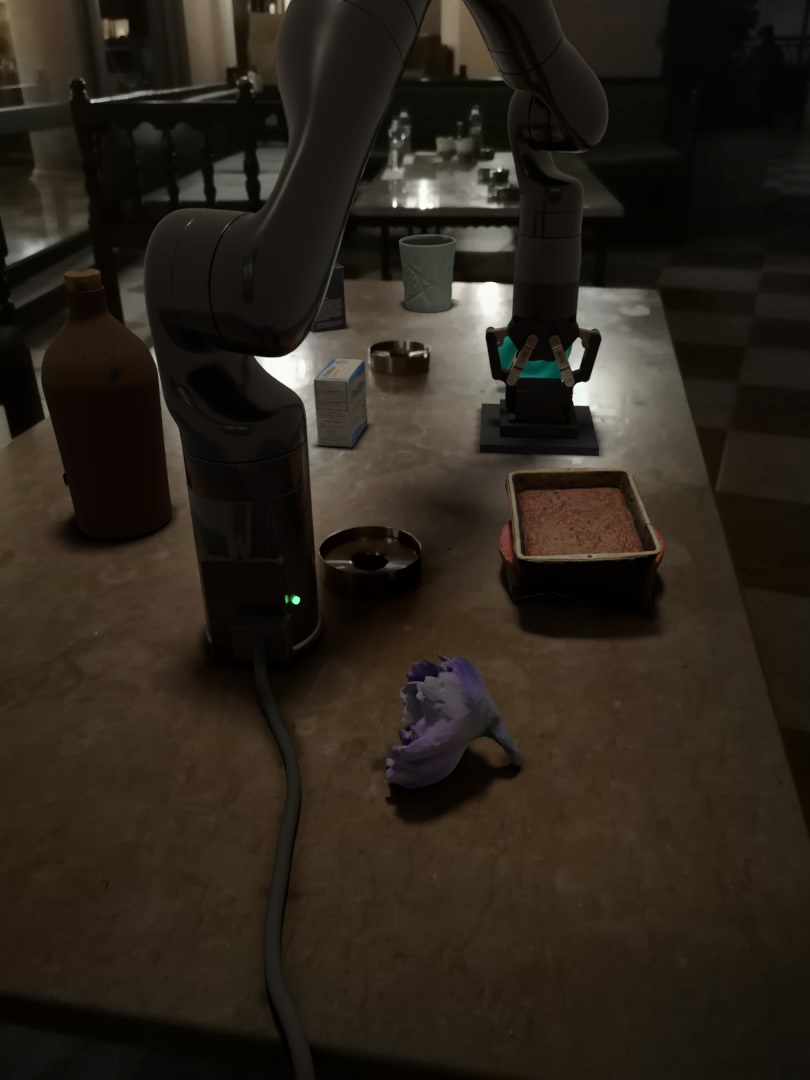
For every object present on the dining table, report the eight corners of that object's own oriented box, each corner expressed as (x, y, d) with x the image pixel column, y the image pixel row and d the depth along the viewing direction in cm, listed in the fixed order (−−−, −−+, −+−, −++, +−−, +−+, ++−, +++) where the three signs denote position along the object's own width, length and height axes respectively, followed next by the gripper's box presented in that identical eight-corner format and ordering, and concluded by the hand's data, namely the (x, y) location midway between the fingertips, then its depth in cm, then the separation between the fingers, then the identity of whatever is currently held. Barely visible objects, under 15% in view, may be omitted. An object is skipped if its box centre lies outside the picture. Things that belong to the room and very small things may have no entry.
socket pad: (598, 455, 107) (600, 435, 105) (479, 452, 108) (480, 432, 107) (588, 412, 119) (590, 394, 118) (481, 410, 120) (482, 392, 119)
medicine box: (352, 449, 109) (349, 379, 105) (317, 446, 110) (312, 377, 106) (368, 425, 116) (366, 359, 112) (334, 422, 116) (331, 357, 112)
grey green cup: (464, 304, 168) (465, 237, 163) (437, 316, 161) (437, 247, 155) (418, 297, 173) (417, 232, 167) (389, 309, 166) (388, 241, 160)
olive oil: (199, 507, 96) (166, 264, 84) (133, 552, 87) (87, 290, 75) (119, 489, 99) (77, 256, 87) (48, 531, 91) (-8, 279, 79)
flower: (545, 646, 62) (417, 612, 58) (562, 766, 56) (424, 737, 53) (473, 703, 68) (353, 676, 64) (483, 815, 63) (353, 793, 59)
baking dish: (488, 637, 78) (501, 546, 71) (499, 515, 92) (510, 430, 85) (658, 658, 77) (686, 568, 70) (642, 532, 91) (665, 447, 84)
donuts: (492, 393, 126) (494, 321, 121) (502, 370, 134) (505, 303, 129) (564, 398, 124) (570, 326, 119) (570, 375, 132) (576, 306, 127)
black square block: (561, 424, 110) (563, 393, 108) (515, 423, 110) (517, 391, 108) (558, 408, 114) (560, 378, 113) (514, 407, 115) (516, 377, 113)
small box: (292, 317, 161) (287, 257, 156) (326, 313, 164) (323, 253, 159) (312, 332, 153) (308, 269, 148) (348, 327, 155) (345, 265, 150)
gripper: (483, 280, 101) (478, 422, 109) (613, 281, 100) (599, 425, 108) (484, 265, 108) (480, 400, 116) (606, 267, 107) (593, 403, 115)
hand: (537, 411), depth 112 cm, fingers closed on black square block, 5 cm apart
